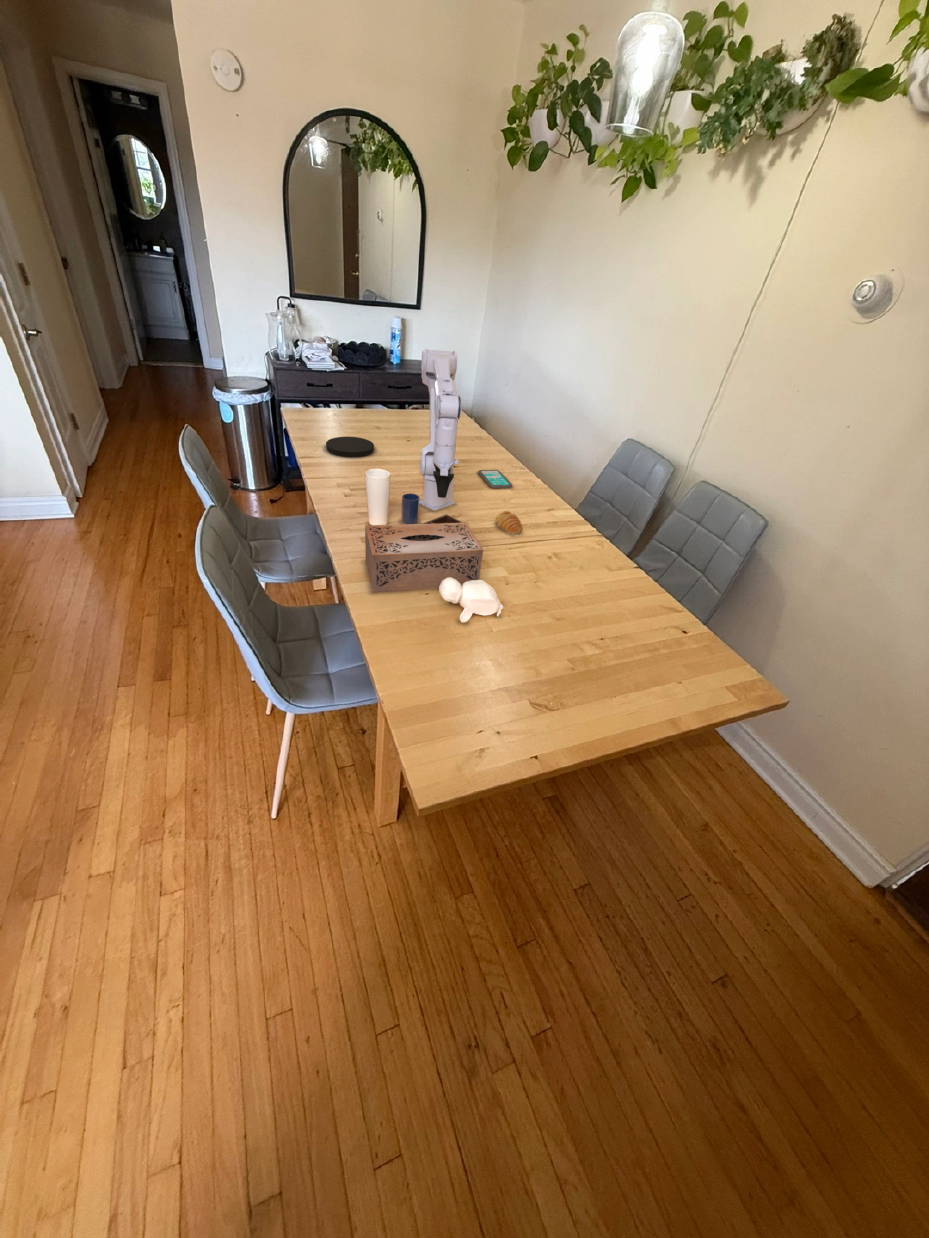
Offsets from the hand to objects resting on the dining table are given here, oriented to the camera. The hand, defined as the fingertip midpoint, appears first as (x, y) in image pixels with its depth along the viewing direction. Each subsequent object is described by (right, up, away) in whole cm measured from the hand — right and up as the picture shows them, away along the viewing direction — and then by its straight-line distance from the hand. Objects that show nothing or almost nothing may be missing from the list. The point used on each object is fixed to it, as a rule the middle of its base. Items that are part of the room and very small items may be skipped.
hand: (441, 491), depth 143 cm
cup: (-10, -8, +6) cm, 14 cm away
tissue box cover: (-4, -25, -16) cm, 30 cm away
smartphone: (+17, +14, +40) cm, 46 cm away
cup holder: (-1, -12, +2) cm, 12 cm away
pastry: (+20, -8, +10) cm, 24 cm away
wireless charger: (-37, +29, +50) cm, 69 cm away
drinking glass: (-19, -8, +3) cm, 21 cm away
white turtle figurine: (+7, -34, -27) cm, 44 cm away
